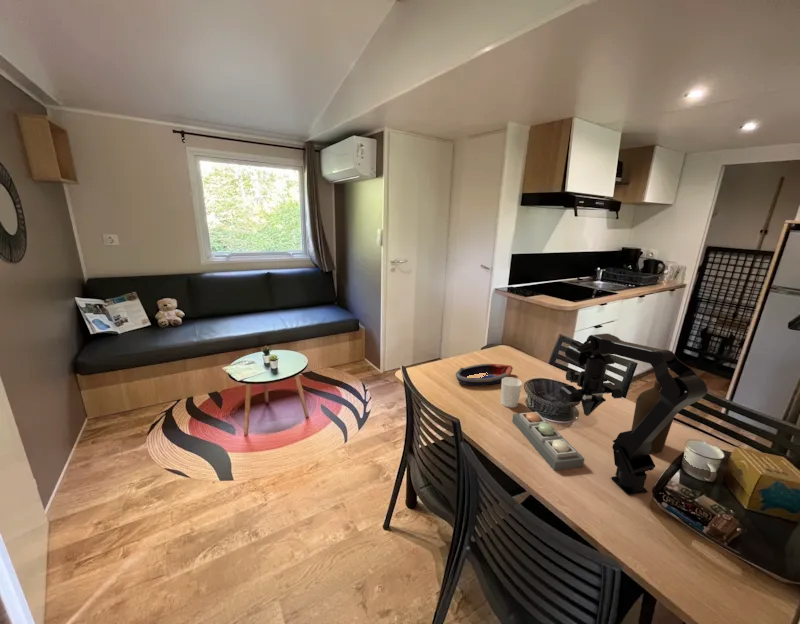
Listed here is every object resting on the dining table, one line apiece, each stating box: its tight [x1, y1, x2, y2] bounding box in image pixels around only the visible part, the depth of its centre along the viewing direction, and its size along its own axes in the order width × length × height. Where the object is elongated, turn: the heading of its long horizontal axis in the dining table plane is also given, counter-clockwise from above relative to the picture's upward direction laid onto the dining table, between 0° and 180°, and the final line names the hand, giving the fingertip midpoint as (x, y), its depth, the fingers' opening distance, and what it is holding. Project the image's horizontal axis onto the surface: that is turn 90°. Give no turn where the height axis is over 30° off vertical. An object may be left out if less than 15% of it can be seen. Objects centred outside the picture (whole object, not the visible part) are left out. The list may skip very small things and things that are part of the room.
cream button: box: [552, 440, 569, 453], centre depth 109 cm, size 5×5×2 cm
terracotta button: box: [526, 411, 540, 423], centre depth 124 cm, size 5×5×2 cm
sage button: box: [538, 422, 555, 435], centre depth 116 cm, size 5×5×2 cm
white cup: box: [500, 376, 523, 409], centre depth 139 cm, size 8×8×10 cm
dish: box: [455, 363, 513, 387], centre depth 161 cm, size 16×31×5 cm, turn 109°
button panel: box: [511, 411, 585, 471], centre depth 117 cm, size 26×10×4 cm, turn 10°
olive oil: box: [630, 378, 675, 454], centre depth 113 cm, size 11×11×25 cm
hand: (586, 415), depth 112 cm, fingers closed
